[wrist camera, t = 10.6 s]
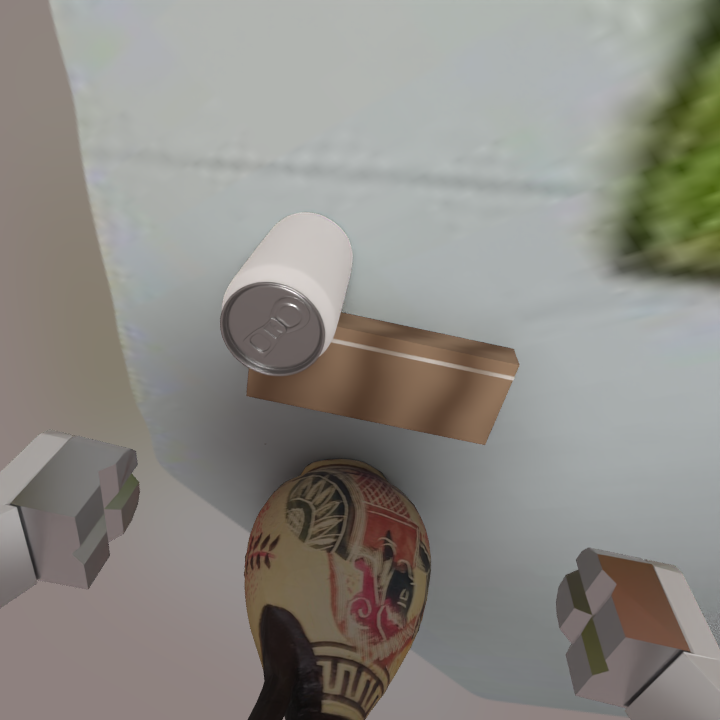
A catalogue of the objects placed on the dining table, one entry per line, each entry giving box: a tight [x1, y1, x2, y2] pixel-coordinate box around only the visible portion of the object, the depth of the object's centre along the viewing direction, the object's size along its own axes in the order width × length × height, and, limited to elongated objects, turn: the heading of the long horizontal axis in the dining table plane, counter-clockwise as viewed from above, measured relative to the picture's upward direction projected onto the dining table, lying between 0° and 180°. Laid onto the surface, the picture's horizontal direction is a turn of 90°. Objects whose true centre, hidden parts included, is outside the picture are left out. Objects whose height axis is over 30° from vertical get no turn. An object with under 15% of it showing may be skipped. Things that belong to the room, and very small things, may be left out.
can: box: [220, 212, 353, 376], centre depth 32 cm, size 6×6×12 cm
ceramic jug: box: [244, 459, 431, 720], centre depth 36 cm, size 17×15×30 cm
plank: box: [246, 312, 519, 445], centre depth 40 cm, size 20×8×2 cm, turn 79°
